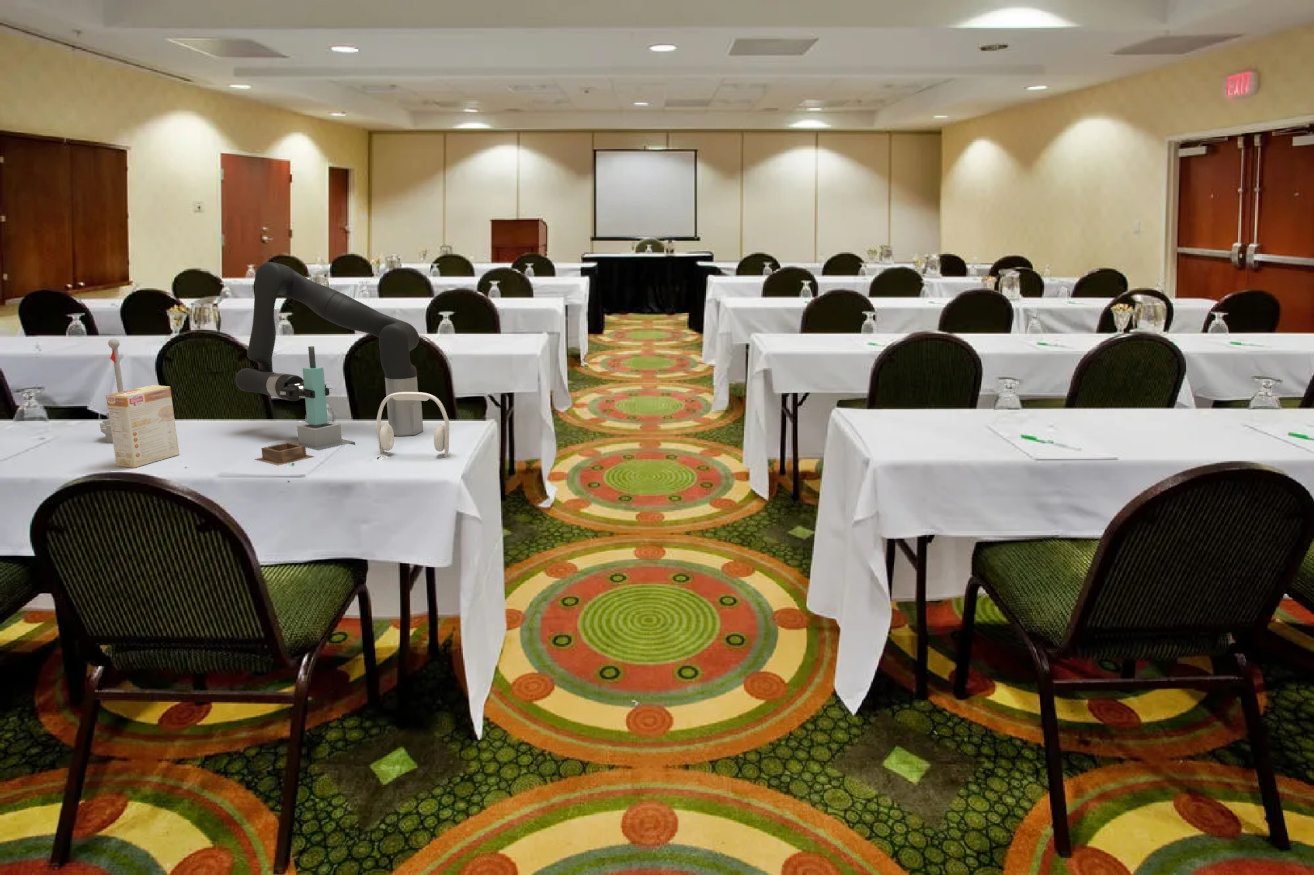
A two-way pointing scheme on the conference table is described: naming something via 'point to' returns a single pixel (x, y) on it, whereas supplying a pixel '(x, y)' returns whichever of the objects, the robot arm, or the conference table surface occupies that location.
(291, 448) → the brown open square box
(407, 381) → the robot arm
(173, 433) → the coffeecake box
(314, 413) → the plug
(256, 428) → the conference table surface
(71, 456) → the conference table surface
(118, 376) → the flag stand
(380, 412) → the headset
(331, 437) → the box
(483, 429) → the conference table surface
